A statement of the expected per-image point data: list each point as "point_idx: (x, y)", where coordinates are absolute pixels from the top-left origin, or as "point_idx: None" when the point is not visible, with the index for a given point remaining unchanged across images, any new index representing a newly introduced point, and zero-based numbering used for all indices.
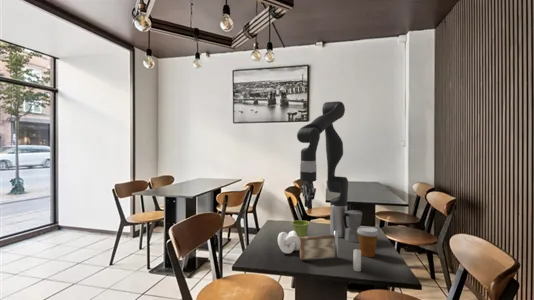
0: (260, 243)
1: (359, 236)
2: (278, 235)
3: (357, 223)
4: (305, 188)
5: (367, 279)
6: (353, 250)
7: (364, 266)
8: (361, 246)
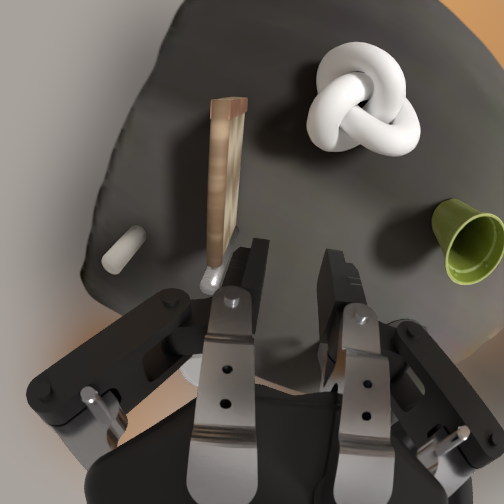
0: (462, 48)
1: None
2: (388, 54)
3: None
4: (218, 439)
5: (92, 224)
6: (111, 255)
7: (155, 263)
8: None
